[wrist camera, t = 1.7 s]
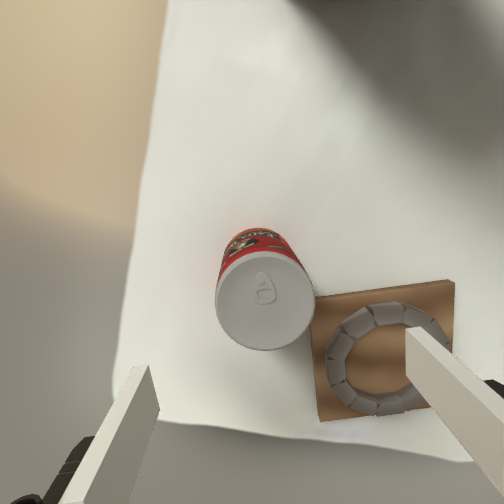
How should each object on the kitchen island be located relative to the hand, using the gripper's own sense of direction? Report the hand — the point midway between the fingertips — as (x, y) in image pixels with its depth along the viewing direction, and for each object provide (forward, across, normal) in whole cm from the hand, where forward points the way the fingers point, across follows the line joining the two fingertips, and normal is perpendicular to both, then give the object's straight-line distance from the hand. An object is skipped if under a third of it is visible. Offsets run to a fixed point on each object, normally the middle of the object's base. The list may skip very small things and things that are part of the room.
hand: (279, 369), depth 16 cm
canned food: (+19, 0, 0) cm, 19 cm away
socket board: (+18, +13, -13) cm, 26 cm away
